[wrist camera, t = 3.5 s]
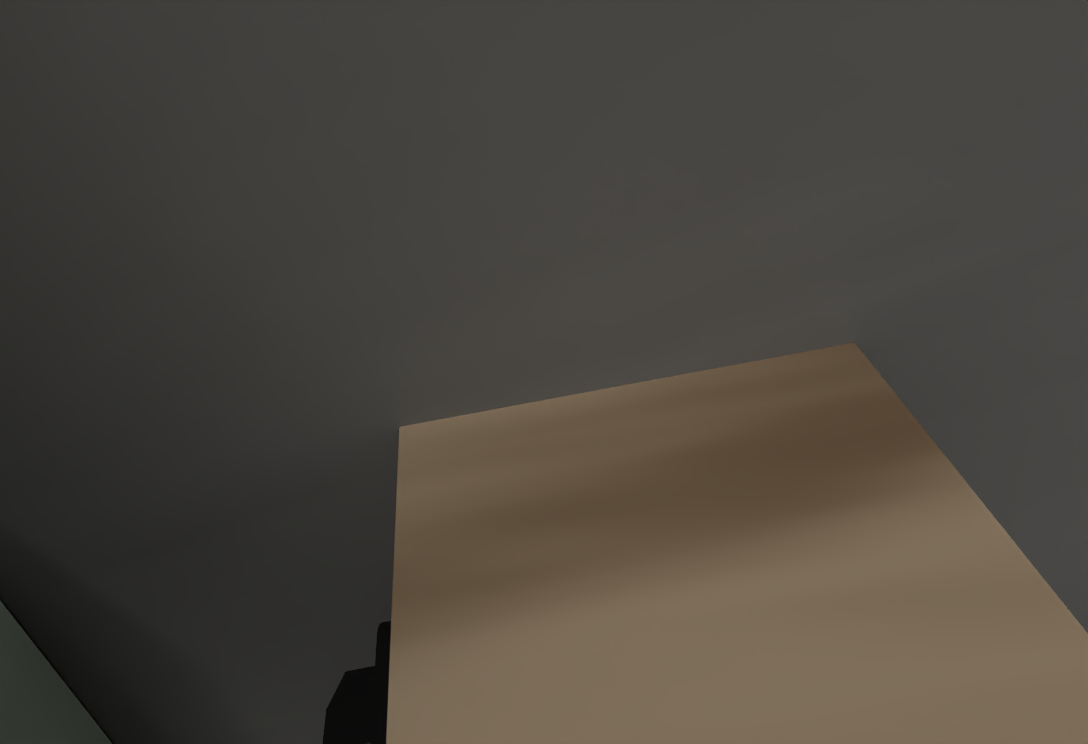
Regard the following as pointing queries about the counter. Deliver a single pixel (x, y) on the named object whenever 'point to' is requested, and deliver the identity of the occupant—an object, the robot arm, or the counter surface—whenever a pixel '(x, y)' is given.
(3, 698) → the tote
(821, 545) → the oak block
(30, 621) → the counter surface
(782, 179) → the counter surface
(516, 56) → the counter surface
